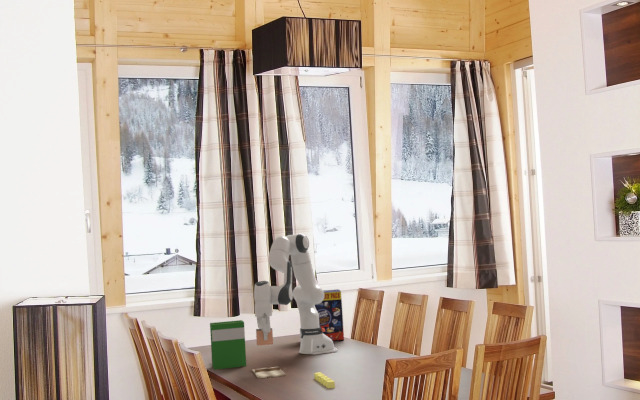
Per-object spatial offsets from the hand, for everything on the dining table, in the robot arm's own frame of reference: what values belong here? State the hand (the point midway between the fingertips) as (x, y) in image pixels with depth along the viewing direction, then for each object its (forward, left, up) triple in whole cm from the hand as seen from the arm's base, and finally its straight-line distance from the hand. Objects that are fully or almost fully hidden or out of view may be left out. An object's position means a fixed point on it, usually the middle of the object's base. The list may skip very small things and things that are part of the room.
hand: (264, 339), depth 394 cm
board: (0, +6, -17) cm, 18 cm away
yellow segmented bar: (-23, +40, -17) cm, 49 cm away
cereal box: (-48, -74, -17) cm, 90 cm away
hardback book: (+17, -22, -17) cm, 32 cm away
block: (0, 0, -3) cm, 3 cm away
